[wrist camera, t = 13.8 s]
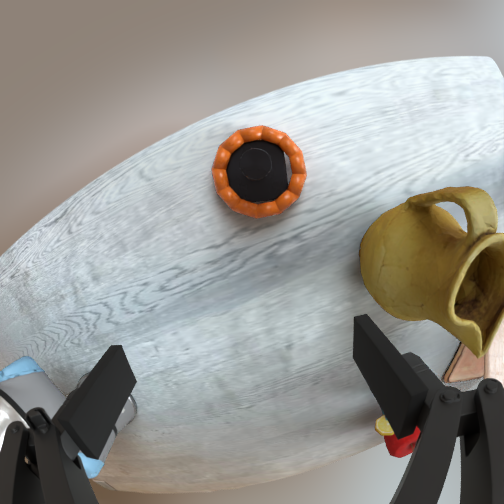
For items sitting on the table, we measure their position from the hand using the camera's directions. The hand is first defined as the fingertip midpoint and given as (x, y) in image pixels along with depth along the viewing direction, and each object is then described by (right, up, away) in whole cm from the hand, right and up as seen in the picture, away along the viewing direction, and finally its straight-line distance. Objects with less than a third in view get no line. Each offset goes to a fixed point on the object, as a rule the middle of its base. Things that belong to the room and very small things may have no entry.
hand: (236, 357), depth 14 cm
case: (+59, -18, +34) cm, 70 cm away
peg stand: (+1, +17, +26) cm, 31 cm away
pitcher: (+25, +7, +28) cm, 39 cm away
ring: (+2, +17, +24) cm, 29 cm away
